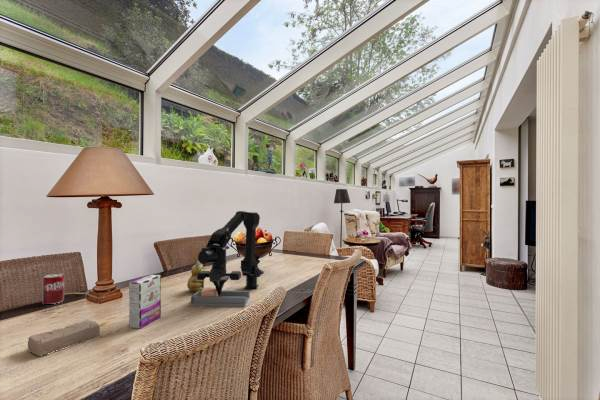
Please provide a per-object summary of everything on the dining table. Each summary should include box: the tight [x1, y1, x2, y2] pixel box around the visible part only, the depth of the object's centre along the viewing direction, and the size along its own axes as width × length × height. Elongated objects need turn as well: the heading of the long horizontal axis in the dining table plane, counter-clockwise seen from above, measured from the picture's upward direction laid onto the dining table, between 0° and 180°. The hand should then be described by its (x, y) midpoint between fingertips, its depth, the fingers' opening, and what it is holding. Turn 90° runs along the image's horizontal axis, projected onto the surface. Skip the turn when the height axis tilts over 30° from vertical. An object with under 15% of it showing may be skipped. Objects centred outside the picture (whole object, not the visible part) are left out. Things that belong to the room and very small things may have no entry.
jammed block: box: [201, 286, 218, 296], centre depth 131 cm, size 6×6×4 cm
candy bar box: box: [128, 274, 162, 329], centre depth 108 cm, size 11×5×16 cm, turn 168°
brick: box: [27, 319, 101, 357], centre depth 92 cm, size 16×8×5 cm, turn 152°
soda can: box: [41, 273, 65, 305], centre depth 127 cm, size 7×7×12 cm
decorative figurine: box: [186, 260, 206, 293], centre depth 146 cm, size 10×8×15 cm
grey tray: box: [189, 289, 251, 308], centre depth 130 cm, size 12×24×4 cm, turn 90°
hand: (219, 294), depth 130 cm, fingers closed
